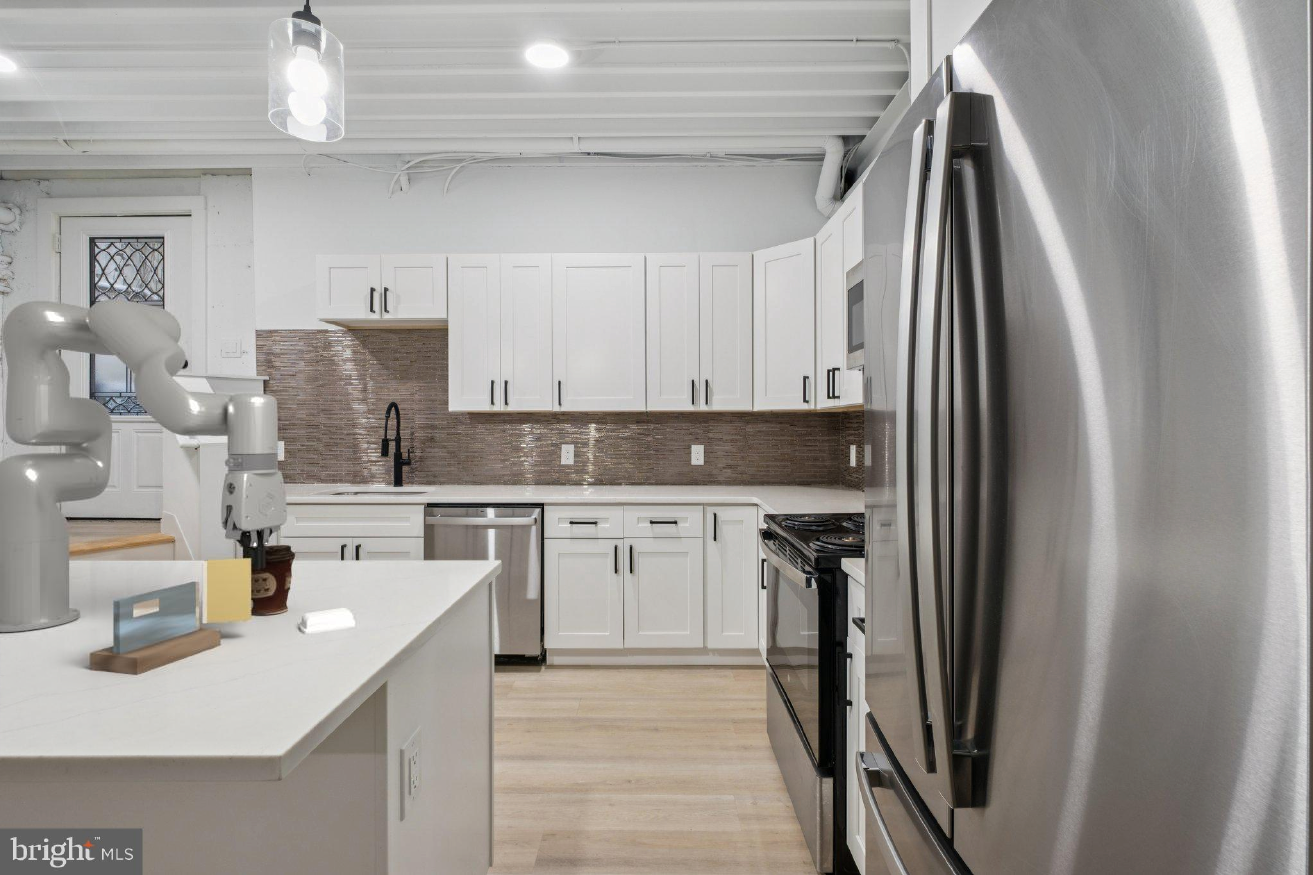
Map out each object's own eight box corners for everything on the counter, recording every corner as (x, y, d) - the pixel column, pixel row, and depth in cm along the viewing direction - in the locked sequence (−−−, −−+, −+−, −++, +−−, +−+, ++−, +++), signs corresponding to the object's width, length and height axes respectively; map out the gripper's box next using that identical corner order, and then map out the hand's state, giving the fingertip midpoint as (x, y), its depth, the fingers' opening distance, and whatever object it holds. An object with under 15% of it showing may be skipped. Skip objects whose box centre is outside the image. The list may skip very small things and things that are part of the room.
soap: (303, 636, 116) (302, 620, 116) (297, 627, 122) (297, 612, 122) (357, 628, 122) (357, 612, 121) (350, 619, 127) (350, 604, 127)
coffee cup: (270, 619, 126) (270, 551, 126) (233, 616, 127) (233, 549, 127) (303, 607, 134) (303, 543, 134) (268, 605, 136) (268, 542, 136)
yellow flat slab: (205, 621, 112) (205, 559, 112) (251, 618, 114) (251, 558, 114) (202, 623, 111) (202, 561, 111) (248, 620, 112) (248, 559, 112)
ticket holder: (89, 669, 99) (89, 599, 99) (177, 640, 113) (177, 579, 112) (136, 674, 97) (136, 603, 97) (220, 645, 110) (220, 582, 110)
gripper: (235, 466, 107) (236, 579, 107) (303, 462, 122) (304, 561, 122) (197, 466, 109) (198, 577, 109) (268, 462, 123) (269, 560, 124)
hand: (254, 568), depth 115 cm, fingers closed
